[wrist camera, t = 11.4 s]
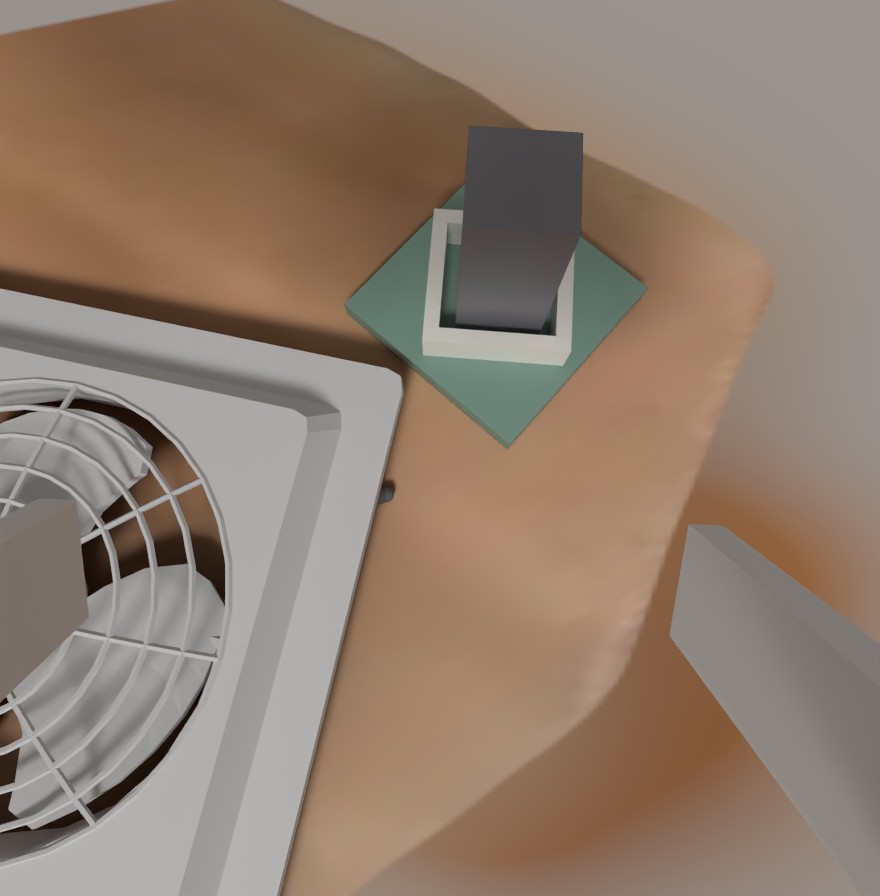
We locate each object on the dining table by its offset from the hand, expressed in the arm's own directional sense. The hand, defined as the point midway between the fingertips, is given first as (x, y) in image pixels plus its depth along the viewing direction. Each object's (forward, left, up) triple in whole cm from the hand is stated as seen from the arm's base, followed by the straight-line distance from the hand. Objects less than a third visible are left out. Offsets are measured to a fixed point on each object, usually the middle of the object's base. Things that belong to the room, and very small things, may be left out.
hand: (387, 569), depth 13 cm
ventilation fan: (-13, -13, -18) cm, 26 cm away
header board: (-7, +14, -18) cm, 24 cm away
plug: (-7, +14, -17) cm, 23 cm away
